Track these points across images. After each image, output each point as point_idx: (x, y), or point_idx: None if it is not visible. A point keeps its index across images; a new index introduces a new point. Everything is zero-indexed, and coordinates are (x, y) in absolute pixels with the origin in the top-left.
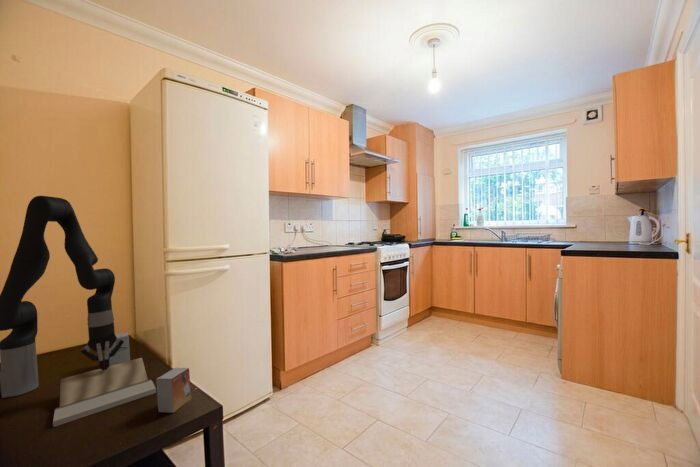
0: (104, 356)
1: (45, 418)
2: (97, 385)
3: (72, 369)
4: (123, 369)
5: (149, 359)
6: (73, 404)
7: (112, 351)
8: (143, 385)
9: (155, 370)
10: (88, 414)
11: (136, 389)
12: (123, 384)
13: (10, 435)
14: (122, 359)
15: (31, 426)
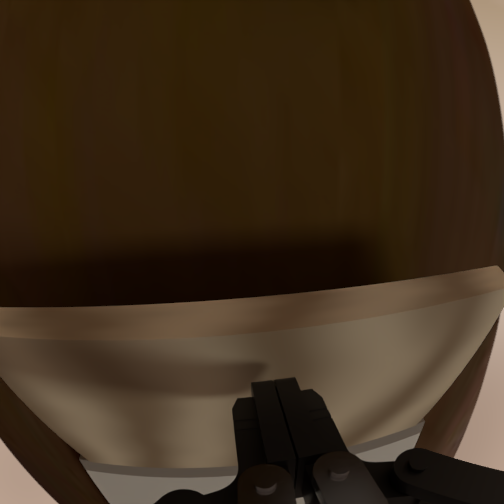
0: (314, 487)
1: (67, 451)
2: (217, 442)
3: None
4: (385, 376)
5: (466, 27)
6: (138, 475)
7: (425, 493)
8: (383, 461)
9: (479, 253)
10: None
11: None
12: None
13: (28, 467)
14: None
15: (53, 465)
